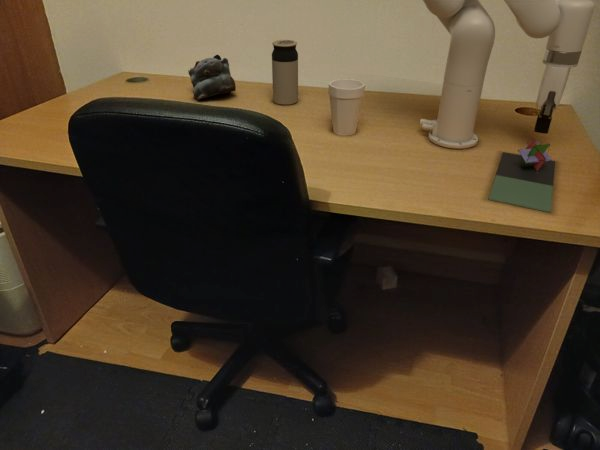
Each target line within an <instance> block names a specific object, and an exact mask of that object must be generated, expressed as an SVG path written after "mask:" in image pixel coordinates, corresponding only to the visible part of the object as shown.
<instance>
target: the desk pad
mask: <svg viewBox="0 0 600 450" xmlns="http://www.w3.org/2000/svg"><path fill="white" fill-rule="evenodd" d="M519 160H520V161H519ZM521 161H522V162H521ZM523 161H524V159H523V158H522V156H521V154H517V153H512V152H511V153H510V152H505V151H502V153H501V157H500V161H499V163H498V166H497V170H496V173H495V177H494V180H493V183H492V185H491V186H492V187H491V190H490V193H489V196H488V199H487V200H489V201H491V202H498V203H502V204H507V205H511V206H516V207H520V208H525V209H529V210H535V211H539V212H544V213H549V214H551V213H552V207H553V206H552V205H553V204H552V203H553V193H554V180H555V169H556V160H552V161H549V162H550V163H549V162H548V161H545V163H544V164H543V165H542V166H541V168H540V169H539V171H538V172H536V171H535V170H536V169H535V168H534V166H533V165H527V166H520V165H521V164H522V163H523ZM530 166H531V167H532V168H531V167H530ZM544 166H545V167H544ZM524 167H525V168H524ZM527 168H528V169H527Z"/></svg>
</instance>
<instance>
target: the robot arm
mask: <svg viewBox="0 0 600 450" xmlns="http://www.w3.org/2000/svg"><path fill="white" fill-rule="evenodd" d="M503 1H504V2H505V4H506V5H507V7H508V8H509V10H510V11H511V13H512V14H513V16H514V17H515V21H516V23H517V26H519V28H520V29H521V30H522V31H523V32H524V33H525V35H526V36H528V37H530V38H532V39H544V38H547V37H548V38H547V41H546V45H545V49H544V53H543V57H542V61H541V63H542V64H544V65H545V68H544V70H543V73H542V78H541V81H540V85H539V89H538V93H537V97H536V100H535V107H536V108H540V110H539V114H537V117H536V121H535V125H534V129H533V132H534V133H538V134H548V133H549V130H550V128H551V127H550V126H551V123H552V119H553V113H554V110H557V109H558V108H559V105H560V103H561V100H562V98H563V95H564V92H565V89H566V86H567V82H568V79H569V75H570V72H571V68H576V67H578V65H579V61H580V58H581V54H582V51H583V49H584V45H585V43H586V38H587V35H588V31H589V29H590V25H591V22H592V18H593V16H594V15H593V14H594V11H595V6H596V5H595V2H594V1H593V0H503ZM422 2H423V4H425V7H426V9H427V10H428V11H429V13H431V14H432V15H434V16H436V18H437V19H438V20H439V22H440V23H441V24H442V25H443V27H444V28H445V30H446V31H447V32H448V33H449V35H450V42H449V48H448V53H447V58H446V64H445V68H444V73H443V74H444V75H443V82H442V88H441V93H440V99H439V100H440V101H439V107H438V113H437V117H436V119H432V120H430V119H427V118H420V120H419V127H421V129H423V130H428V131H429V130H430V131H429V132H428V139H429V141H430V142H431V143H433V144H435V145H437V146H440V147H442V148H448V149H456V150H457V149H458V150H461V149H462V150H463V149H470V148H473V147H475V146H476V145H477V144H478V143H479V142H478V141H479V137H478V135H477V134H475V133H474V130H475V125H476V121H477V117H478V111H479V106H480V101H481V97H482V92H483V88H484V84H485V83H484V82H485V78H486V72H487V68H488V65H489V61H490V59H491V54H492V50H493V47H494V44H495V39H496V27H495V23H494V20H493V18H492V17H491V16H490V14H489V13H488V12H487V10H486V9H485V7H484V6H483V5H482V3H481V2H480V0H422Z"/></svg>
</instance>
